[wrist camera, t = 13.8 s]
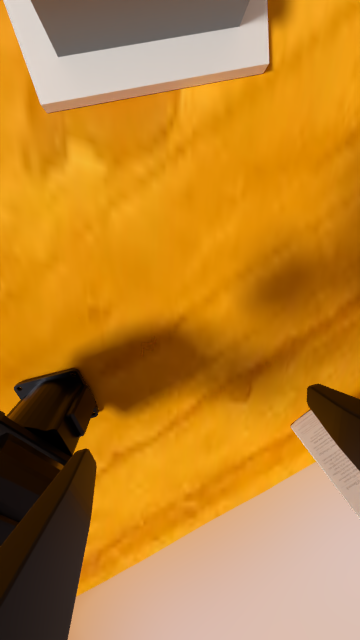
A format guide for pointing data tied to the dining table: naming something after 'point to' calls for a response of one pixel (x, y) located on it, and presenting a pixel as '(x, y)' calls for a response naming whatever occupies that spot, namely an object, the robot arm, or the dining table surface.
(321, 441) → the skincare box
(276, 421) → the dining table surface
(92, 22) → the box
